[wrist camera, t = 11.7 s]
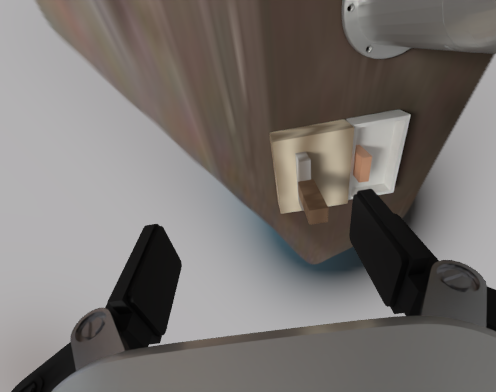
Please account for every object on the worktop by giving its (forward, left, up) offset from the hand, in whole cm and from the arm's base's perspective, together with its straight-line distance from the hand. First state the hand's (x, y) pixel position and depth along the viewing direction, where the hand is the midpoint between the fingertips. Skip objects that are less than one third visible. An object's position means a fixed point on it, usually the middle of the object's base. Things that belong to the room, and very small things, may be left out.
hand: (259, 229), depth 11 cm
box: (-19, +13, -28) cm, 37 cm away
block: (-16, +13, -25) cm, 33 cm away
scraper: (-7, +13, -24) cm, 28 cm away
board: (-9, +13, -28) cm, 32 cm away
